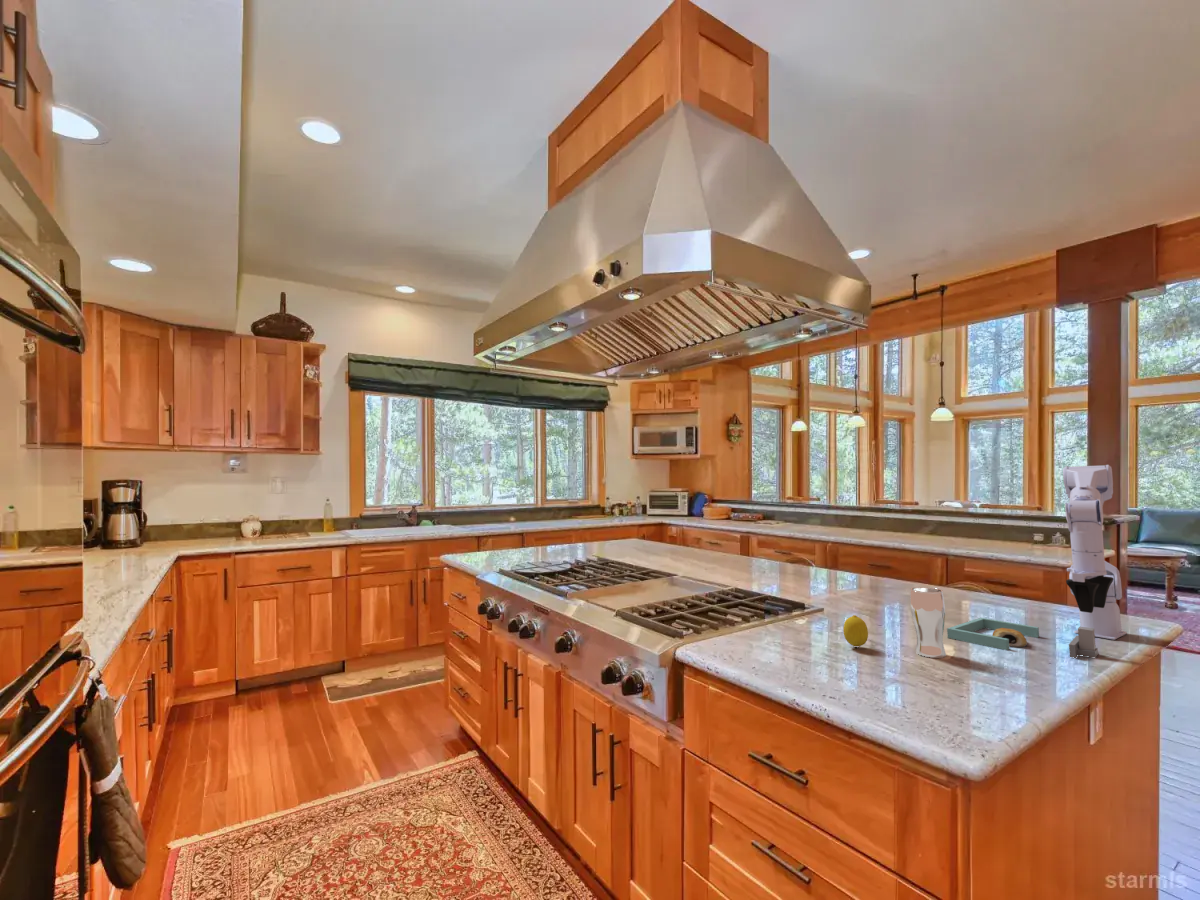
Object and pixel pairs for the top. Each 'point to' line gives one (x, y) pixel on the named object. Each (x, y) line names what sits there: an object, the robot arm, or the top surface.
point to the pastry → (1011, 636)
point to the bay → (968, 635)
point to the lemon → (855, 631)
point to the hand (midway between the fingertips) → (1092, 609)
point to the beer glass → (928, 620)
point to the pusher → (1083, 643)
